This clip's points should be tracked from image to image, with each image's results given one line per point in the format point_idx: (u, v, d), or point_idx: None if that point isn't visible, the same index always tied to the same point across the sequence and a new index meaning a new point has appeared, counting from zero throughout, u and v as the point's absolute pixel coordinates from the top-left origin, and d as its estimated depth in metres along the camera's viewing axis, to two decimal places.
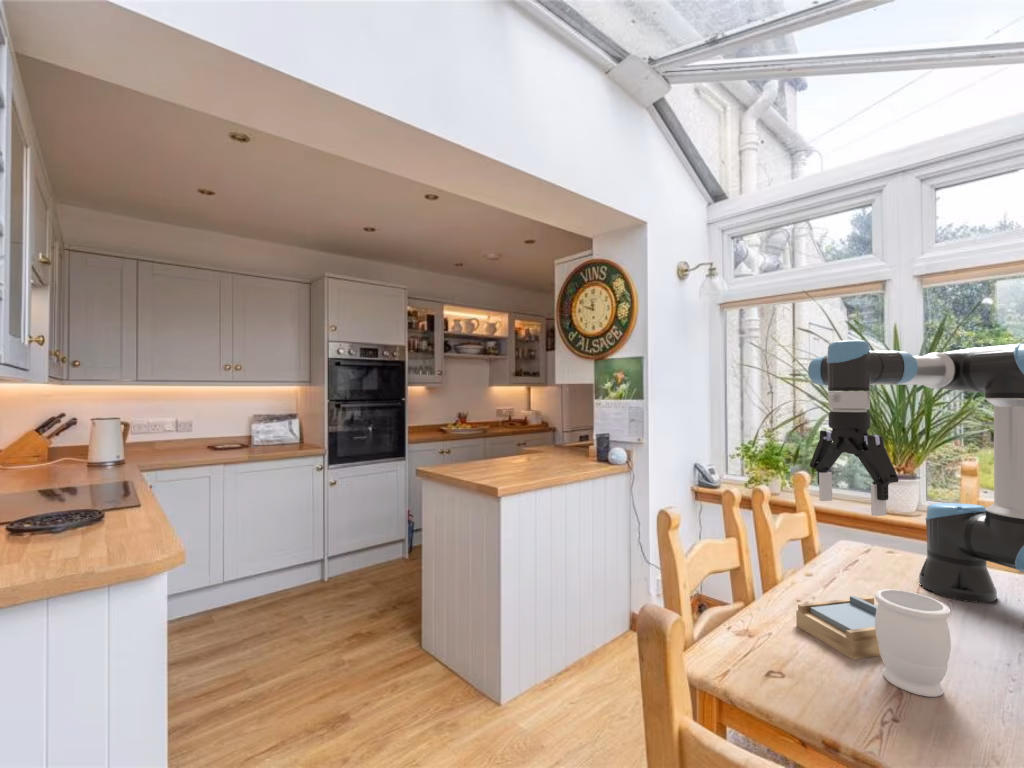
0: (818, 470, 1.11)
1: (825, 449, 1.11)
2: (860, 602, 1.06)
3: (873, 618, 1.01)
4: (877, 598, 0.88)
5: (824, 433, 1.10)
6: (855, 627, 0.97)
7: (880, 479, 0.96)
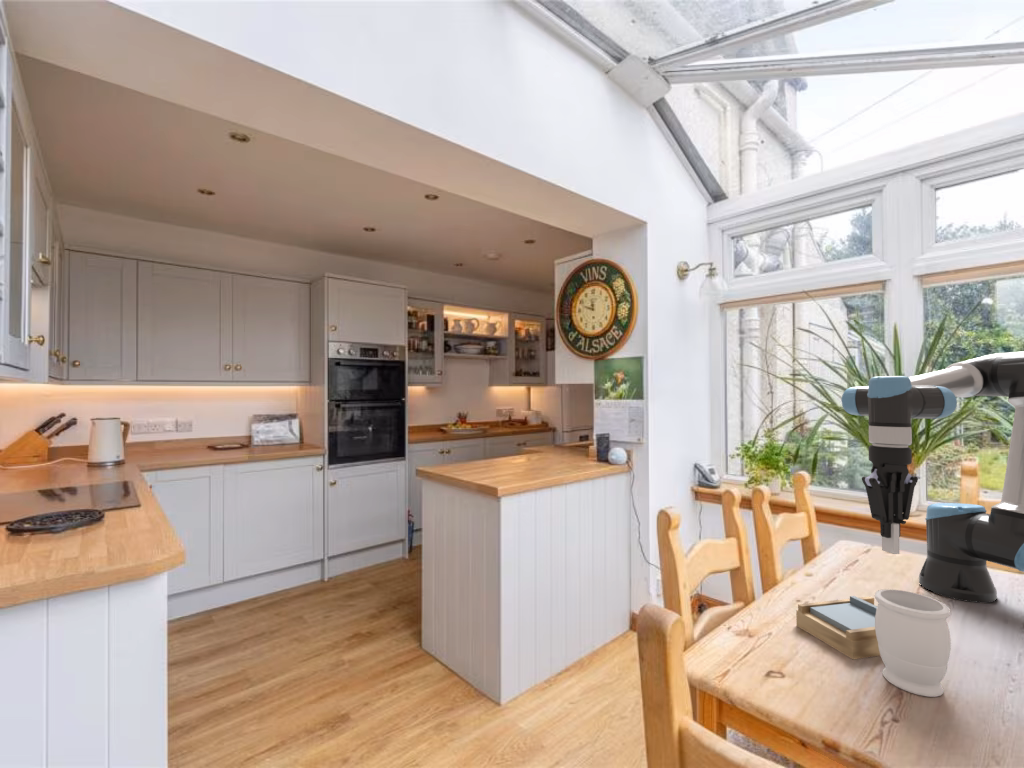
0: None
1: (903, 494, 1.06)
2: (860, 602, 1.06)
3: (873, 618, 1.01)
4: (877, 598, 0.88)
5: None
6: (855, 627, 0.97)
7: None
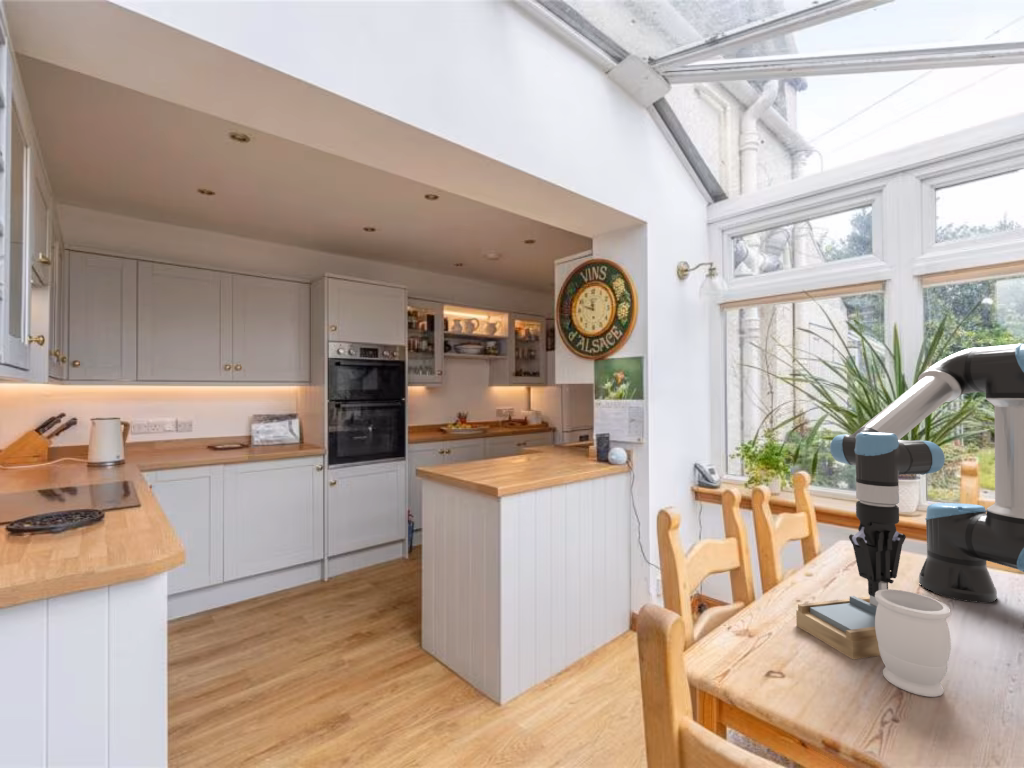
0: None
1: (891, 552, 1.05)
2: (860, 602, 1.06)
3: (873, 618, 1.01)
4: (877, 598, 0.88)
5: None
6: (855, 627, 0.97)
7: None
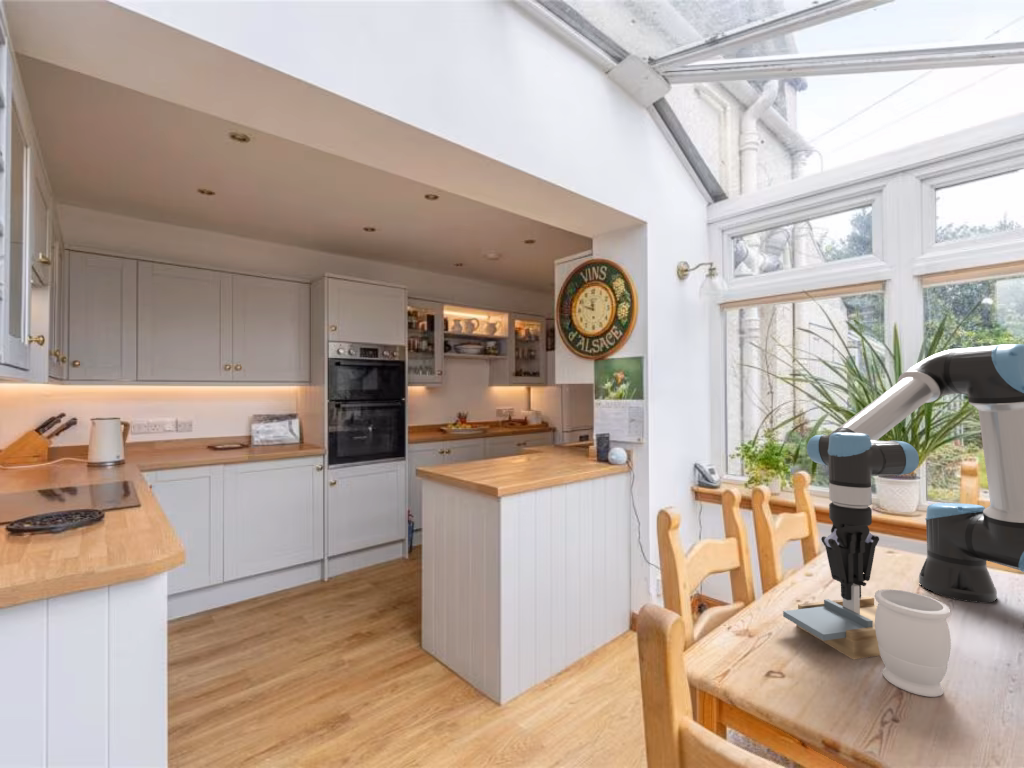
0: None
1: (864, 554, 1.03)
2: (834, 605, 1.04)
3: (846, 622, 0.99)
4: (877, 598, 0.88)
5: None
6: (826, 631, 0.95)
7: None
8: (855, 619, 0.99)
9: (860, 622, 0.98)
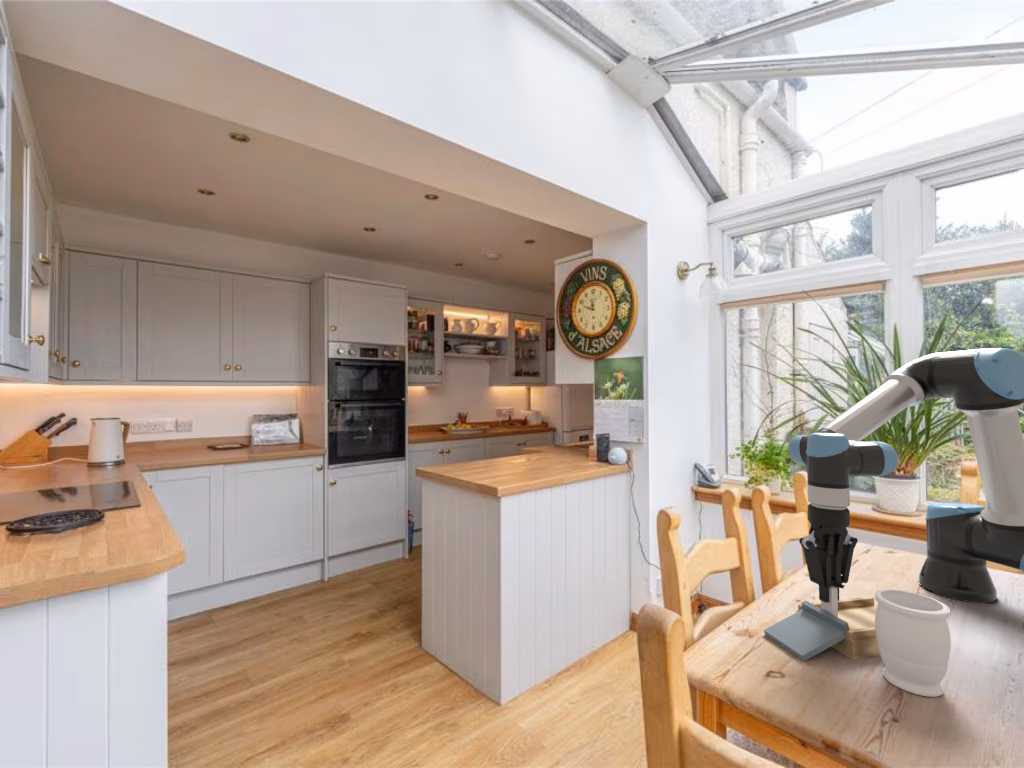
0: None
1: (843, 556, 1.02)
2: (811, 609, 1.03)
3: (824, 628, 0.98)
4: (877, 598, 0.88)
5: None
6: (805, 650, 0.94)
7: None
8: (832, 622, 0.98)
9: (837, 625, 0.97)
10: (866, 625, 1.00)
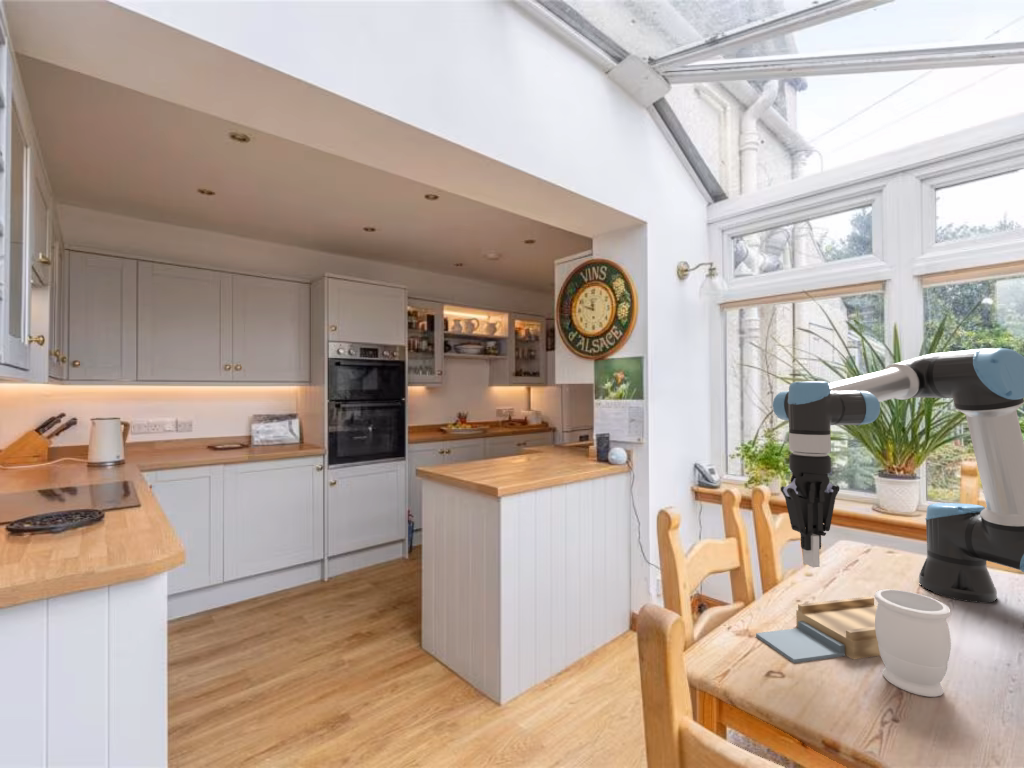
0: None
1: (825, 504, 1.01)
2: (807, 628, 1.02)
3: (818, 646, 0.97)
4: (877, 598, 0.88)
5: None
6: (797, 656, 0.94)
7: None
8: (827, 642, 0.98)
9: (832, 646, 0.96)
10: (866, 625, 1.00)
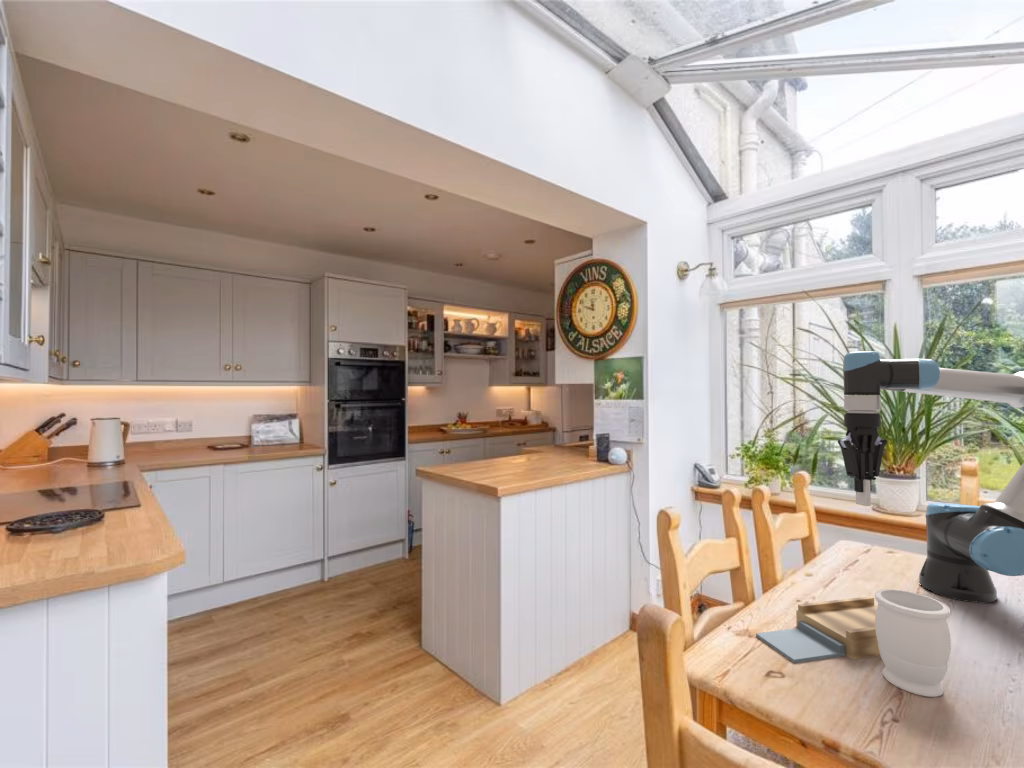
0: None
1: (874, 455, 1.21)
2: (807, 628, 1.02)
3: (818, 646, 0.97)
4: (877, 598, 0.88)
5: None
6: (797, 656, 0.94)
7: None
8: (827, 642, 0.98)
9: (832, 646, 0.96)
10: (866, 625, 1.00)
